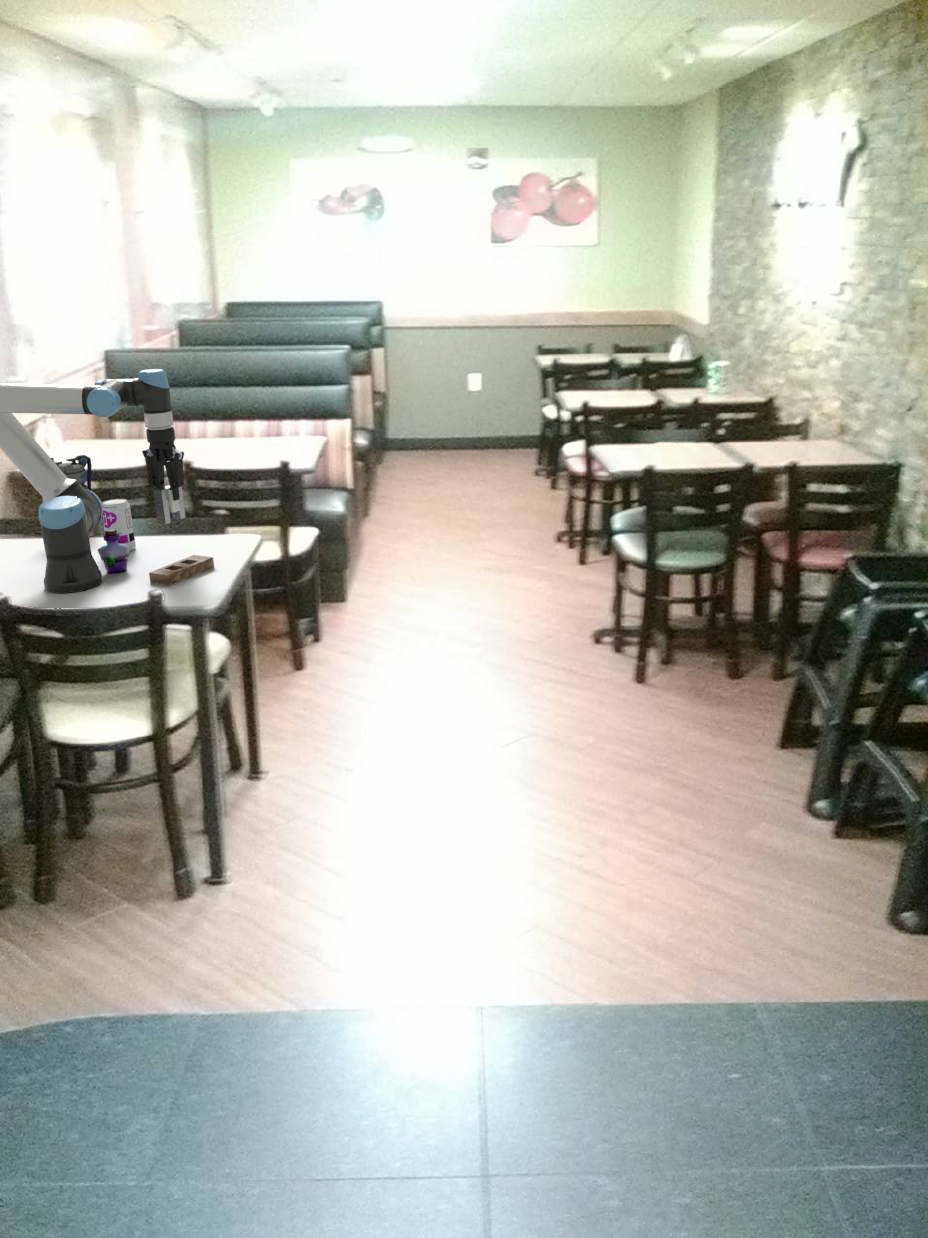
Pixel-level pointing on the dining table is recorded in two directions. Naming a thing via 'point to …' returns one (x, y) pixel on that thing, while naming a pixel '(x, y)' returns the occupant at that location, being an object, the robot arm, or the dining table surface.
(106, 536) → the potion bottle
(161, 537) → the dining table surface
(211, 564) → the wooden socket base
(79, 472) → the dark grey lidded pitcher
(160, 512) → the clip
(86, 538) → the robot arm
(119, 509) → the supplement can
